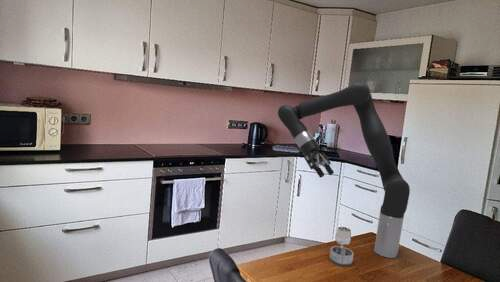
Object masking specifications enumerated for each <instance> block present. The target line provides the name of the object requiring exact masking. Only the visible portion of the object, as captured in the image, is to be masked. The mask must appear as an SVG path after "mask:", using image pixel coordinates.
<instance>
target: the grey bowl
mask: <svg viewBox="0 0 500 282" xmlns="http://www.w3.org/2000/svg"><path fill="white" fill-rule="evenodd" d="M340 247H341V245H340V246H339V245H338V246H337V245H333V246H331V247H330V249H329V261H330V262H331V263H333V264H334V265H337V266H339V267H350V266H352V265H353V259H354V255H355V253H354V252H353V250H351V249H350V248H347V247H344V246H343V249H342V253H341V255H340V252H341V249H340Z"/></svg>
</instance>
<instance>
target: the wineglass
mask: <svg viewBox="0 0 500 282" xmlns="http://www.w3.org/2000/svg"><path fill="white" fill-rule="evenodd" d="M351 241H352V231H351V229H350V228H349V227H344V226H339V227H337V230H336V232H335V242H336V243H337V244H338V245H340V246H341V247H340V249H341V252H340V255H341V253H342V249H343V247H344V246H348V245H350V243H351Z"/></svg>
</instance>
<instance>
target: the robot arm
mask: <svg viewBox="0 0 500 282" xmlns="http://www.w3.org/2000/svg"><path fill="white" fill-rule="evenodd" d="M371 92H372V91H371V89H370V86H368V85H367V83H364V82H361V81H359V82H357V81H356V82H354V83H352V84H350V85H349V86H346V87H345V88H343V89H341V90H338V91H336V92H332V93H329V94H325V95H321V96H317V97H313V98H309V99H307V100H303V101H301V102H299V104H298V105H295V106H290V105H288V104H287V105H286V104H283V105H281V106H280V107H279V108H278V111H277V115H278V118H279V119H280V121H281V122H282V124H283V125H284V127H286V129H288V131H289V133H290V135H291V137H292V138H293V139H294V141H295V143H296V145H297V146H298V148H299V150H300V151H301V152H302V153H301V154H303V157H304V160H305V162H306V163H307V165H308V167H309V168H310V170H313V171H315V172H316V174H317V175H318V177H319V178H323V177H325V172H324V171H323V170H322V168H321V167H320V166H322V167H324V169H325V170H326V172H327V174H328V176H332V175H334V173H335V172H334V170H333V169H332V167H331V166H330V165H331V164H332V163H331V161H330V160H329V158H328V156H327V155H326V154H325V152H320V149H321V148H320V145H319V144H318V142H317V141H316V139H315V138H314V136H313V135H312V134H311V133H310V131H309V130H308V128H307V126H306V125H305V123H303V122H302V121H301V120H303V119H304V118H307V117H311V116H315V115H317V114H321V113H325V112H326V111H330V110H333V109H337V108H342V107H348V106H353V107H354V109H355V111H356V114H357V115H358V119H359V123H360V129H361V132H362V137H363V140H364V142H365V145H366V148H367V150H368V152H369V154H370V156H371V158H372V160H373V162H374V164H375V165H376V168H377V170H378V172H379V176H380V180H381V183H382V188H383V191H384V196H383V200H382V201H383V202H382V204H381V206H380V209H379V210H380V211H379V217H378V224H377V229H376V236H375V241H374V242H375V243H374V249H373V250H374V253H376V254H377V255H378V256H381V257H384V258H388V259H394V258H397V257H398V253H399V249H400V248H399V246H400V242H401V241H400V240H401V235H402V230H403V225H404V224H403V223H404V217H405V213H406V211H407V208H408V204H409V199H410V192H411V191H410V190H411V189H410V185H409V183H408V182H407V181H406V180H405V178H404V177H403V176H402V174H401V172H400V170H399V169H398V166H397V164H396V161H395V156H394V152H393V151H394V150H393V148H392V147H393V146H392V143H391V142H392V141H391V139H390V137H389V135H388V132H387V130H386V128H385V126H384V124H383V122H382V120H381V118H380V116H379V114H378V113H377V110H376V107H375V103H374V101H373V100H374V99H373V97H372V93H371Z"/></svg>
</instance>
